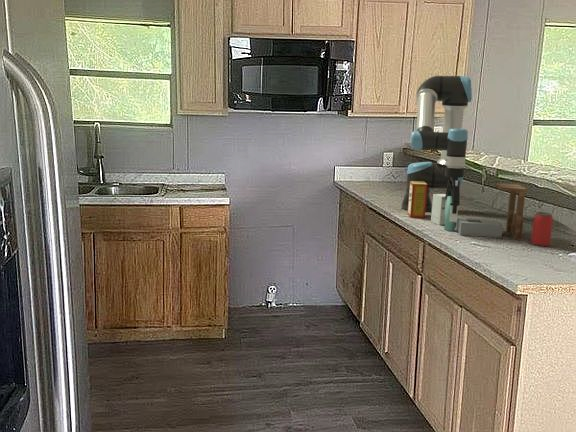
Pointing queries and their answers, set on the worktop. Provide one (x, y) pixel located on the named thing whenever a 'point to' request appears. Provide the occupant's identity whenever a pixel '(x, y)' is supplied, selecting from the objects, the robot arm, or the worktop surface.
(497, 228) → the socket
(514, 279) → the worktop surface
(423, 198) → the baking soda box
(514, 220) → the wooden t-shaped stand
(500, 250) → the worktop surface
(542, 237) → the beer can
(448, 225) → the peg
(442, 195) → the supplement box
